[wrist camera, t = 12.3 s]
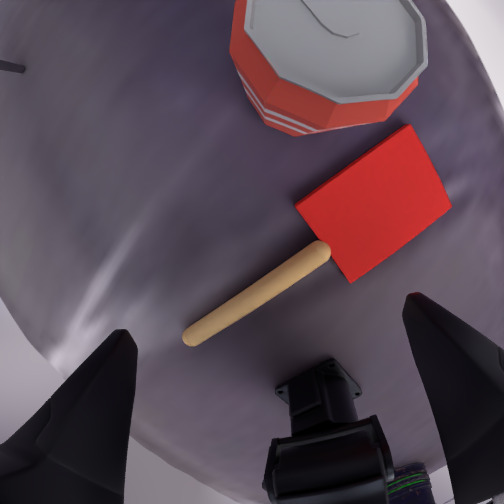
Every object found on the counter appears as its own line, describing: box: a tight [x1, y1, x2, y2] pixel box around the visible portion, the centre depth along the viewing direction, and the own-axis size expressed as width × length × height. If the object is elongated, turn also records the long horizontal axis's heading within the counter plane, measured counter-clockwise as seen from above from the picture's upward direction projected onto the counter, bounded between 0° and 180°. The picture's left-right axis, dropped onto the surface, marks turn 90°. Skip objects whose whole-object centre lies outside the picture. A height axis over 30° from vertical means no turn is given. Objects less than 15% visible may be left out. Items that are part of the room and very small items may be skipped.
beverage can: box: [229, 0, 428, 137], centre depth 11 cm, size 6×6×12 cm
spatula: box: [182, 124, 452, 346], centre depth 20 cm, size 23×7×2 cm, turn 129°
